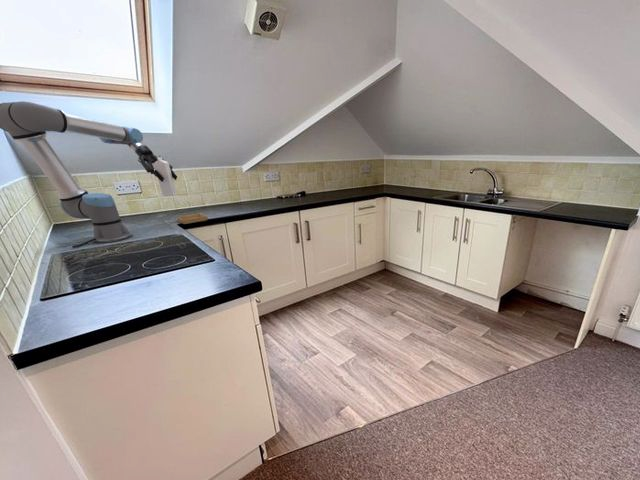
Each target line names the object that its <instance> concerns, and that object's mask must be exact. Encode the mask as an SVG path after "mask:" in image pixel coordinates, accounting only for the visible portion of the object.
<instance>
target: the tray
mask: <svg viewBox="0 0 640 480" xmlns="http://www.w3.org/2000/svg"><path fill="white" fill-rule="evenodd" d="M176 220H177V222H179V223H181V224H183V225H188V224H194V223H198V222H205V221H208V216H207V215H205V214H202V213H201V212H199V213H194V214H187V215H181V216H176Z"/></svg>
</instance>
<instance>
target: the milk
mask: <svg viewBox="0 0 640 480" xmlns="http://www.w3.org/2000/svg"><path fill="white" fill-rule="evenodd" d="M156 157H157V158H158V160H157V161H156V162H155V163H152V165H153V167H154V171H155V170H157V171H158V172H159V173H160V174H161V175H162V176H163V178H164V180H163V182H161V181H160V179H159V178H158V177H157V180H158V184H159V187H160V190H161V194H162V197H175V196H176V195H178V192H177V188H176V184H175V181H174V178H173V177H172V173H171V170H170V166H169V164H170V163H169V162H168V161H167V160H165V159H164V160H165V161H164V160H162V158H163V157H162V156H161V157H159V156H156Z"/></svg>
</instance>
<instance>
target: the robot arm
mask: <svg viewBox="0 0 640 480" xmlns="http://www.w3.org/2000/svg"><path fill="white" fill-rule="evenodd" d="M0 130H2V131H4V132H7V133H8V134H9V136H10V137H11V138H12V139H13V140H14V141H16V142H18V143H21V144H22V146H23V147H24V148H25V150H26V151H27V152H28V154H29V155H30V156H31V158H32V159H33V160H34V161H35V163H36V164H37V165H38V167H39V168H40V169H41V171H42V172H43V173H44V175H45V176H46V177H47V179H48V180H49V181H50V183H51V184H52V185H53V186H54V188H55V189H56V191H57V192H58V193H59V194H58V199H59V200H60V208H61V210H62V211H63V213H64V214H66V215H67V216H69V217H71V218H74V219H80V220H85V219H86V220H90V221H91V223H92V226H93V238H92V239H89V240H87V241H85V242H83V243H80V244H74V245H71V247H72V248H78V247H83V246H85V245H88V244H90V243H93V242H95V243H98V244H105V243H106V244H107V243H113V242H119V241H124V240H126V239H129V238H130V237H132V235H131V232H130V231H129V230H128V228H127V227H126V226H125V225H124V224H123V222H122V220H121V216H120V213H119V211H118V208H117V206H116V201H115V200H114V198H113V196H112V195H111V194H109V193H104V192H91V193H89V192H88V190H86V188H82V187H80V185H79V184H78V183H77V181H76V179H75V178H74V177H73V176H72V175H73V174H71V172H70V170H69V169H68V168H67V167H66V166H65V164H64V162H63V161H62V160H61V158H60V157H59V155H58V154H57V152H56V151H55V150H54V148H53V147H52V145H51V144H50V143H49V141H48V140H47V138H46V137H47V132H53V133H54V132H55V133H62V134H63V133H66V132H68V133H72V134H73V133H74V134H78V135H79V134H80V135H85V136H91V137H96V138H99V140H100V141H101V142H103V143H105V144H109V145H111V144H113V145H127V146H128V147H129V148H130V149H131V150H132V151H133V152H134V153H135V154H136V155H137V156H138V157H137V161H138V162H139V163H140V164H141V166H142V167H143V168H144V170H145V171H146V173H147V174H148V173H150V175H153V176H154V177H156V178H157V179H158V178H159V179H160V181H161V182H163V180H164V178H163V176H162V175H161V174H160V173H159V172H158V171H157V170H155V167H154V164H153V163H155V162H156V161H157V160H158V158H157V157H162V156H161V155H159V156H156V155H155V154H154V152H153V150H152V149H150V148H149V146H148V145H147V144H146V143H145V142H144V141H143V140H144V135H143V133H142V131H140V130H139V129H138V128H135V127H129V126H122V125H121V126H120V125H117V124H112V123H108V122H103V121H100V120H95V119H90V118H86V117H82V116H77V115H73V114H70V113H65V112H64V111H63V110H61V109H60V108H59V109H58V108H54V107H51V106H47V105H43V104H39V103H35V102H30V101H24V100H23V101H11V102H9V101H8V102H1V103H0ZM162 160H164V161H166V159H164V158H163V157H162ZM169 166H170V170H171V173H172V177H173V180H175V181H177V178H178V176H177V174H176V173H175V172H174V170H173V167H174V166H172V165H171V163H169Z"/></svg>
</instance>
